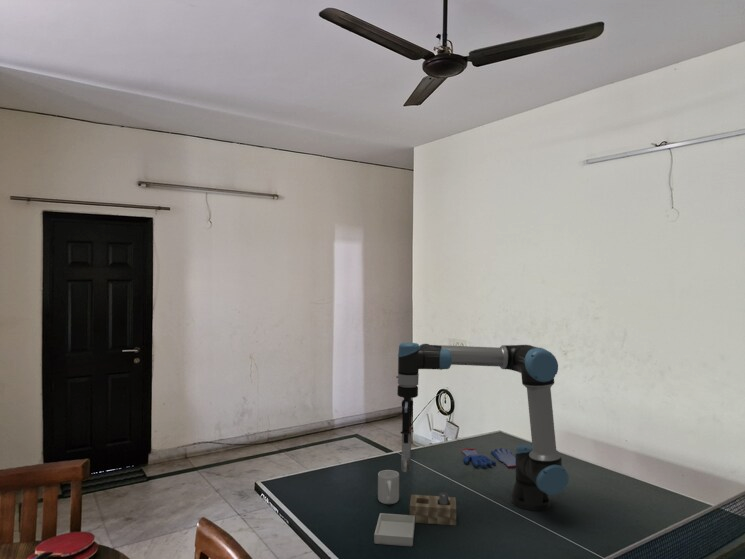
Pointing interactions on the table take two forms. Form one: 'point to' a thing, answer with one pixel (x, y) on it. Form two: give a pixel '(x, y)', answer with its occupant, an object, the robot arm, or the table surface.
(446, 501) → the short pin
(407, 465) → the glass vial with cap
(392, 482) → the mug
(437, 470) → the table surface
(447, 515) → the block
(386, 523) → the tray
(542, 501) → the robot arm
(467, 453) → the pair of gloves
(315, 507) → the table surface
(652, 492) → the table surface
